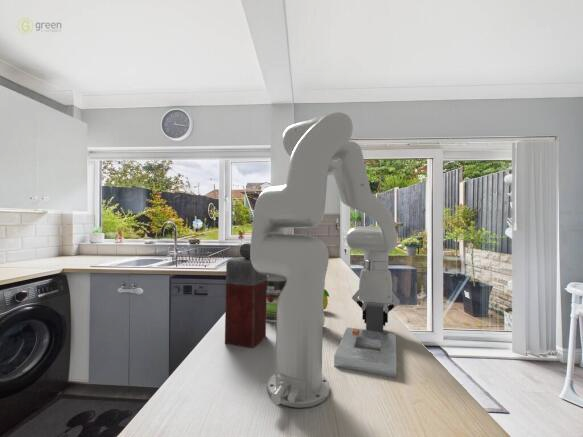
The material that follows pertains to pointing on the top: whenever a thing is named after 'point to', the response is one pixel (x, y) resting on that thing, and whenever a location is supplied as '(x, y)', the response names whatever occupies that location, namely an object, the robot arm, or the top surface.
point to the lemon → (325, 299)
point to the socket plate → (367, 352)
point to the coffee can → (273, 297)
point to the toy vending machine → (245, 302)
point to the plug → (374, 317)
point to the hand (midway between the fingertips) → (375, 322)
